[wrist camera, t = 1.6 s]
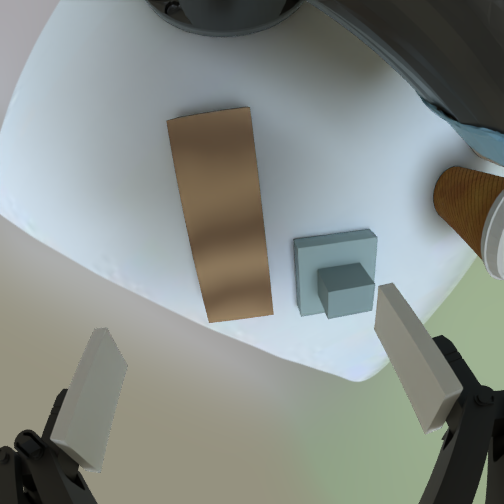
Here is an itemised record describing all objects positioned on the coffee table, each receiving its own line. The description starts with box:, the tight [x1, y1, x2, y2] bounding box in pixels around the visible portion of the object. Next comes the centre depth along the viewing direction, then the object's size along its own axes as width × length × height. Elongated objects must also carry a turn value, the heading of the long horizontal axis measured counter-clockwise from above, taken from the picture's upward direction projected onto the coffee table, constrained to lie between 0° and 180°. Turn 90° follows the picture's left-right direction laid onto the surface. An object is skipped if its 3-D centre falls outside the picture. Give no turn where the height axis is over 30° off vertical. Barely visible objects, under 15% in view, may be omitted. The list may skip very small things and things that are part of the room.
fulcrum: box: [294, 229, 377, 319], centre depth 30 cm, size 8×8×6 cm
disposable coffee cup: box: [434, 166, 504, 280], centre depth 24 cm, size 10×10×12 cm
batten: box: [167, 107, 274, 323], centre depth 27 cm, size 18×6×5 cm, turn 7°
